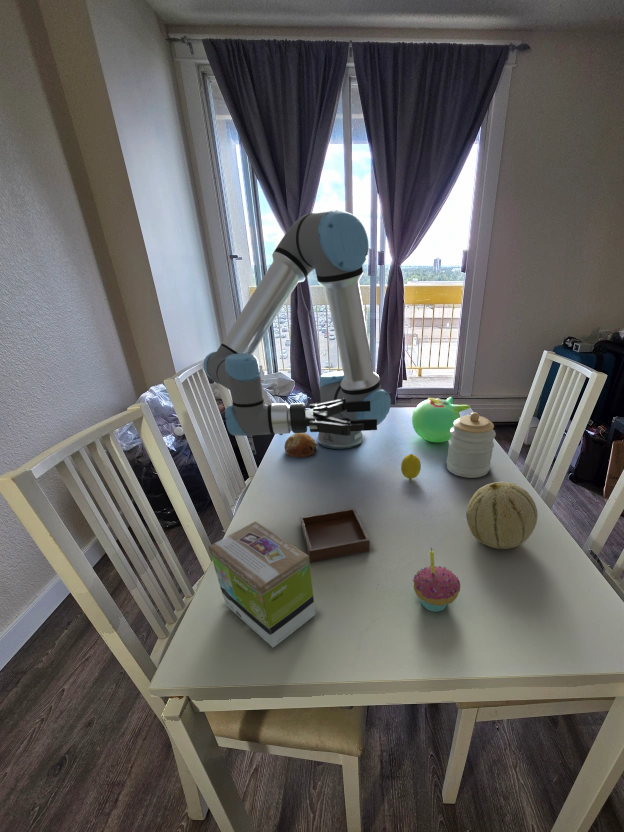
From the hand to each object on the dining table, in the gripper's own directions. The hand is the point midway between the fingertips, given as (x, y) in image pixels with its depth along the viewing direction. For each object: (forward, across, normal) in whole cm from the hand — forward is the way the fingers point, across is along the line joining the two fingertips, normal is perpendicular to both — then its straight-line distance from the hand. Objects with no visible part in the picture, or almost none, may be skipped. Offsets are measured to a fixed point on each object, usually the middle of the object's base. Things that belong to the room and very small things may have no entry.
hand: (373, 414), depth 106 cm
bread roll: (-21, -23, -20) cm, 37 cm away
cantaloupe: (+24, +31, -20) cm, 44 cm away
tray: (-12, +25, -20) cm, 35 cm away
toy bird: (+25, -27, -20) cm, 42 cm away
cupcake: (+6, +48, -20) cm, 52 cm away
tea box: (-25, +46, -20) cm, 56 cm away
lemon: (+11, 0, -20) cm, 23 cm away
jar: (+29, -4, -20) cm, 36 cm away
